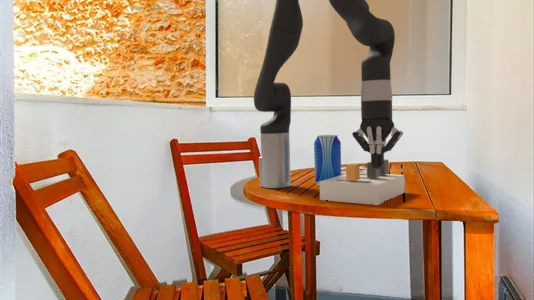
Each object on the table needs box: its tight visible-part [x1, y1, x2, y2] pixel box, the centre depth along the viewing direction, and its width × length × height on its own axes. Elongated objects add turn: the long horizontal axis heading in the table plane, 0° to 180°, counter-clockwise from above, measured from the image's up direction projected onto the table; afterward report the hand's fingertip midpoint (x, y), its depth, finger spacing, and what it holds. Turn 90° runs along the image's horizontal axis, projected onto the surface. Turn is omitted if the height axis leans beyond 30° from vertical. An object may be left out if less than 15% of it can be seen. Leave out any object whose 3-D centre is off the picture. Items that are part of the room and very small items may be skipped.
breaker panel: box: [319, 172, 405, 206], centre depth 124 cm, size 16×20×5 cm
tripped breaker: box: [345, 163, 361, 181], centre depth 118 cm, size 2×3×4 cm
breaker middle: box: [366, 161, 380, 178], centre depth 122 cm, size 2×3×4 cm
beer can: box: [313, 134, 342, 187], centre depth 146 cm, size 8×8×16 cm
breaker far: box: [380, 159, 389, 175], centre depth 127 cm, size 2×3×4 cm
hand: (377, 168), depth 114 cm, fingers closed
